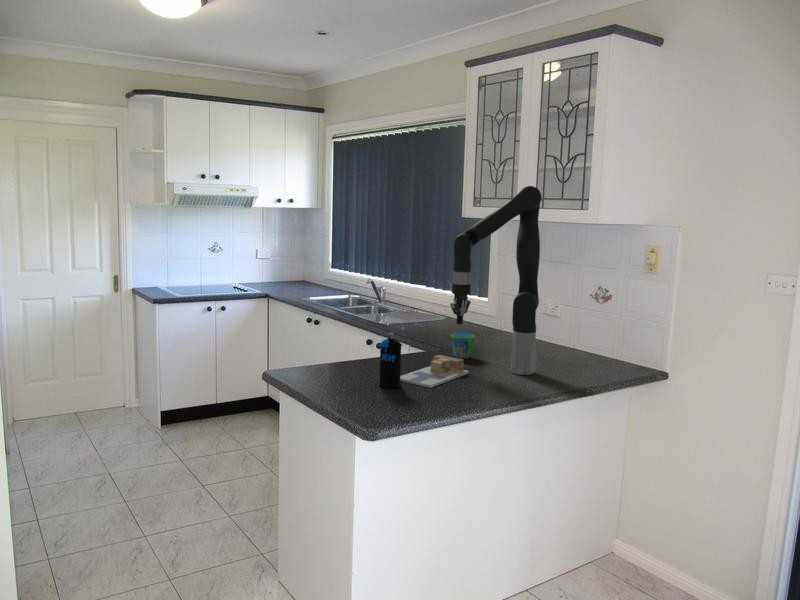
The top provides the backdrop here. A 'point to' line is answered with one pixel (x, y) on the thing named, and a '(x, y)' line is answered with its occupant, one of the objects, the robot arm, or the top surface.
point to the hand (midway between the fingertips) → (459, 324)
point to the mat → (430, 377)
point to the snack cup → (462, 345)
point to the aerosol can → (390, 363)
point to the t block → (446, 364)
